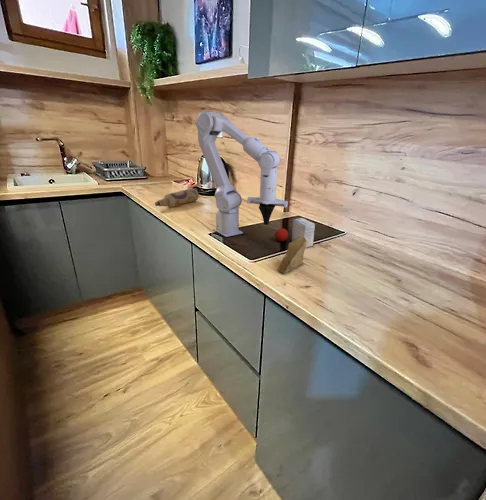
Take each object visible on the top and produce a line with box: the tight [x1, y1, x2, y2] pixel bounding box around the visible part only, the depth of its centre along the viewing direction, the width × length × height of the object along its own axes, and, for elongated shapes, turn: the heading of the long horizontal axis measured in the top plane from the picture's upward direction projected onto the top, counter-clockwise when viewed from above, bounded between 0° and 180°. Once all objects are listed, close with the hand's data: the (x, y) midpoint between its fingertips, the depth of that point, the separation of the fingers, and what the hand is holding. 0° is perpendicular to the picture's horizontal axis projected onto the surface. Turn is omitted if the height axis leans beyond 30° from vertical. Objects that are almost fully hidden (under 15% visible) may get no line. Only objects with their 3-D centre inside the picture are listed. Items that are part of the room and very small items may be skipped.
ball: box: [274, 227, 289, 243], centre depth 113 cm, size 5×5×5 cm
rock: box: [277, 237, 307, 274], centre depth 93 cm, size 11×9×10 cm
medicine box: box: [291, 217, 316, 248], centre depth 111 cm, size 8×4×9 cm, turn 29°
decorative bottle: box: [154, 188, 200, 208], centre depth 152 cm, size 26×8×7 cm, turn 149°
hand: (266, 224), depth 112 cm, fingers closed
